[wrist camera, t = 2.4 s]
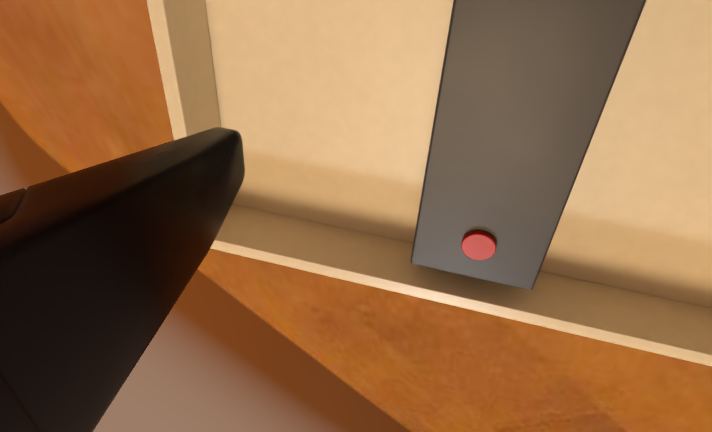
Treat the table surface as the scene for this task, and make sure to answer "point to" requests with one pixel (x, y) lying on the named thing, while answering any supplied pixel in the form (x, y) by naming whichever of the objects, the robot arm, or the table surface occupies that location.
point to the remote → (514, 129)
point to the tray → (410, 151)
